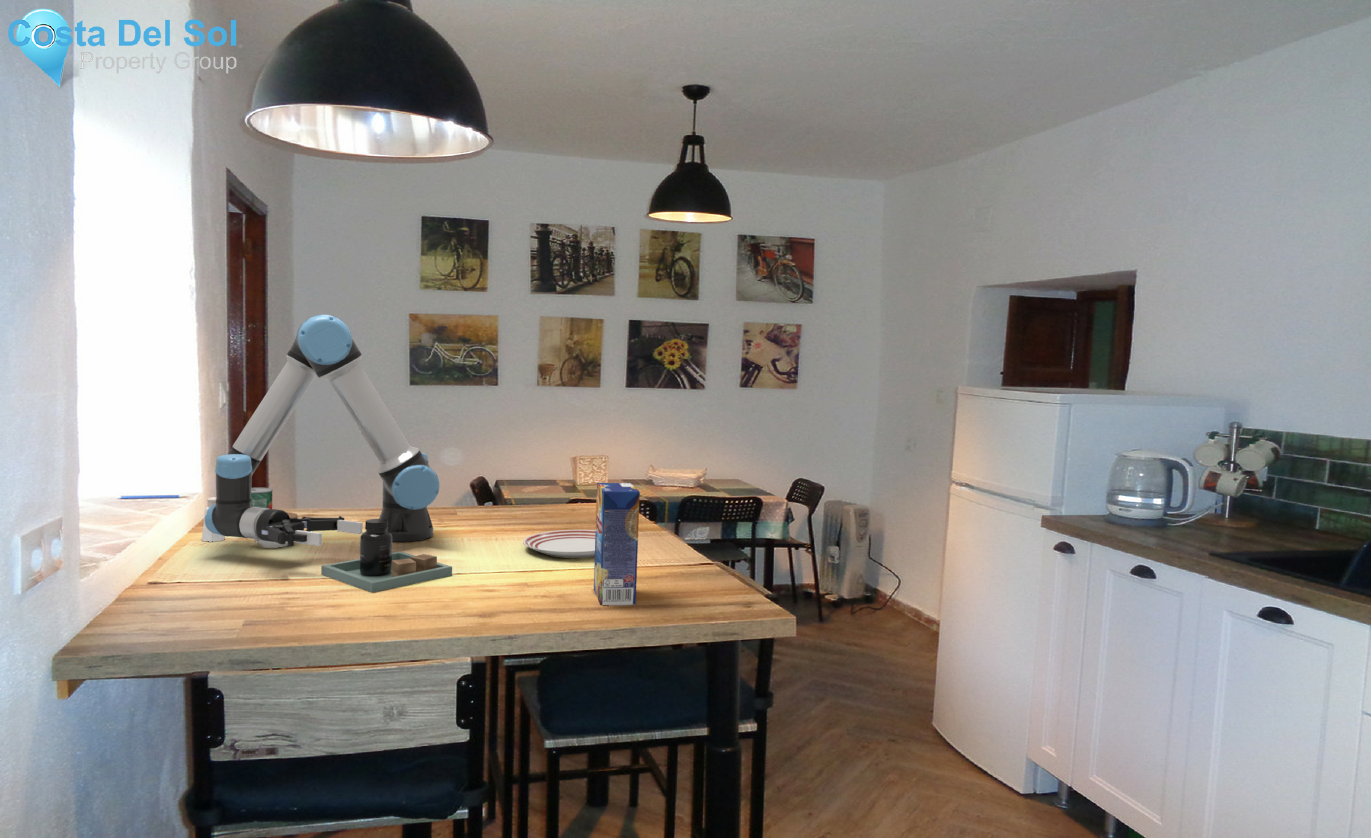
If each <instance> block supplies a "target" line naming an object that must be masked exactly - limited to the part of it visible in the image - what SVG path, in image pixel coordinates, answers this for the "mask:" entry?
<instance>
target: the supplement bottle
mask: <svg viewBox="0 0 1371 838" xmlns="http://www.w3.org/2000/svg"><path fill="white" fill-rule="evenodd" d="M364 529H365V531H364V532H362V534H360V537H359V538H360V539H359V540H360V541H359V542H360V543H359V559H360V573H361V574H362V575H365V576H383V575H387V574H389V573H390V572H391V570H392V553H393V541H392V534H391V533H390V532H389V531H387V529H388V520H386V519H379V518H369V519H366V520H365V526H364Z"/></svg>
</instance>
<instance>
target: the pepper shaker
mask: <svg viewBox="0 0 1371 838" xmlns="http://www.w3.org/2000/svg"><path fill="white" fill-rule="evenodd" d="M206 501H207V507H204V517H203V525H202V533H201V541H202V542H204V541H209V542H208V543H213V542H212V541H218V542H223V541H225V540H226V536H223V535H219V534H214V533H212V532H210V531H209V530H208V529H207V527H206V525H205V516H206V514H207V510H208V509H209V508H210V507H211V506H212V505H214V504H216V497H213V496H212V497H208V498H207V499H206ZM224 539H225V540H224Z"/></svg>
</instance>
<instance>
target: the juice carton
mask: <svg viewBox="0 0 1371 838" xmlns="http://www.w3.org/2000/svg"><path fill="white" fill-rule="evenodd" d="M640 493H641V492H640V490H639V489H637V488H636V486H635V485H633V484H632V483H631V482H596V505H595V507H596V509H595V511H596V512H595V530H596V533H595V557H594V566H593V567H594V570H593V591H594V594H595V596H597V597H596V599H597V598H598V599H597V601H598V603H599V606H600V605H609V606H636V605H637V603H636V602H637V576H638V574H637V573H638V553H639V552H638V551H639V550H638V549H639V548H638V545H639V525H640V524H639V523H640V522H639V521H640V519H639V518H640V497H641V496H640Z"/></svg>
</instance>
